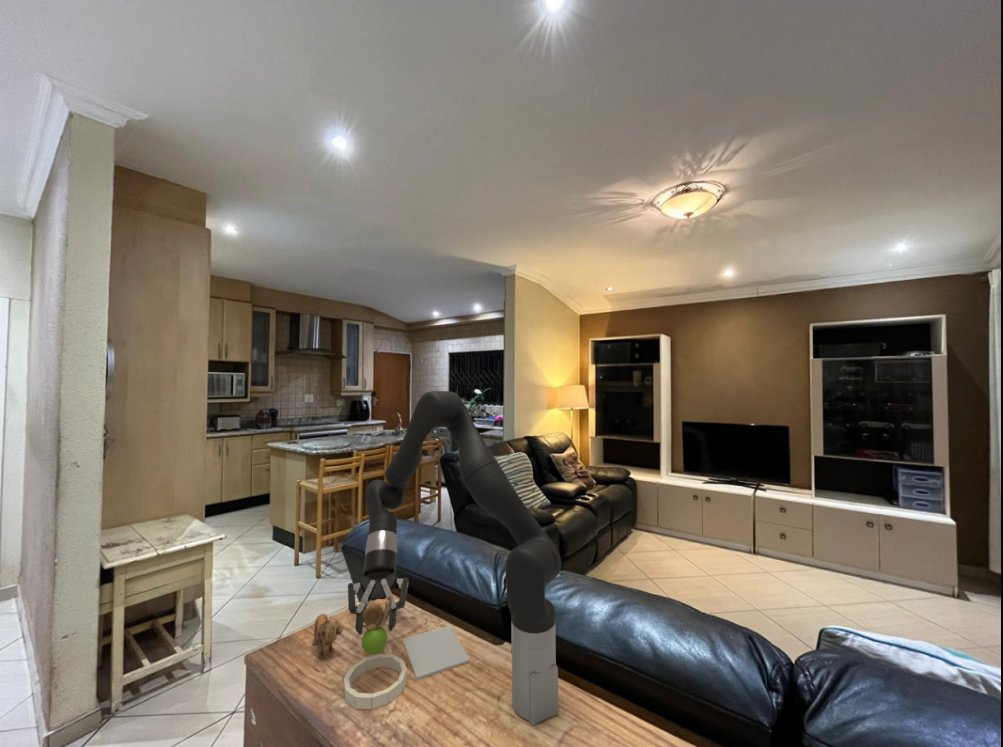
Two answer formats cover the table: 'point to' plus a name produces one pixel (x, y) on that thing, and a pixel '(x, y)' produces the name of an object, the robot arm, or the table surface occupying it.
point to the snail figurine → (375, 628)
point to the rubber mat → (435, 652)
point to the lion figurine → (326, 633)
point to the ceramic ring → (382, 696)
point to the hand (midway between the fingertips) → (375, 631)
